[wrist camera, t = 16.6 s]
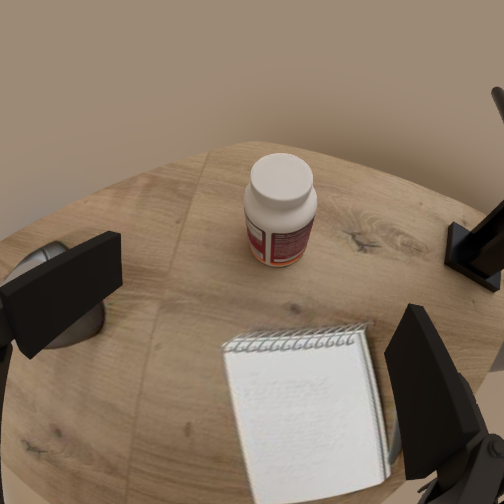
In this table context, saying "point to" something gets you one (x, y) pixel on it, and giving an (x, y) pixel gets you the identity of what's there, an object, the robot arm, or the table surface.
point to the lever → (499, 100)
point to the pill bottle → (279, 208)
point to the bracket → (479, 249)
